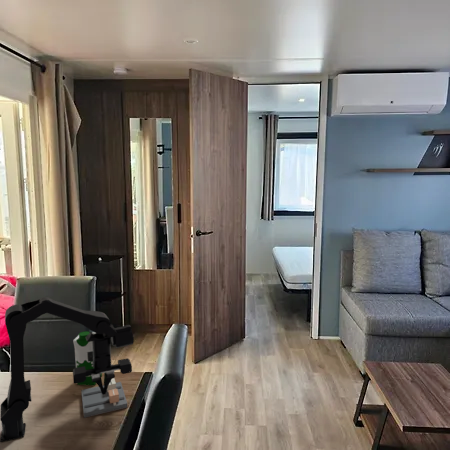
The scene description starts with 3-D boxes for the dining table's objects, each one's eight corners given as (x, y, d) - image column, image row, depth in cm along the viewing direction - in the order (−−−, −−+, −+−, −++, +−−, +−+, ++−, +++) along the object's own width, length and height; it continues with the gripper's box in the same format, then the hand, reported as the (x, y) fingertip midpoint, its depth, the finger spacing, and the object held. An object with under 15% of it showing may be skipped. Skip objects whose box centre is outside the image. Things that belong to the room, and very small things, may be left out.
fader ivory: (116, 390, 140) (115, 383, 139) (107, 392, 138) (107, 385, 138) (114, 384, 143) (114, 377, 143) (106, 386, 142) (105, 379, 142)
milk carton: (73, 386, 146) (70, 335, 143) (84, 373, 155) (81, 325, 152) (95, 387, 145) (93, 336, 142) (105, 374, 154) (103, 326, 151)
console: (127, 407, 133) (127, 402, 132) (84, 417, 127) (83, 412, 127) (121, 385, 146) (120, 381, 146) (81, 393, 141) (81, 389, 141)
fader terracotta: (119, 401, 133) (118, 394, 132) (110, 403, 132) (109, 396, 131) (117, 395, 136) (117, 388, 136) (108, 397, 135) (108, 390, 135)
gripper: (126, 336, 141) (127, 376, 143) (71, 345, 134) (73, 387, 136) (131, 349, 131) (133, 392, 133) (72, 359, 124) (74, 405, 126)
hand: (103, 393), depth 132 cm, fingers closed
